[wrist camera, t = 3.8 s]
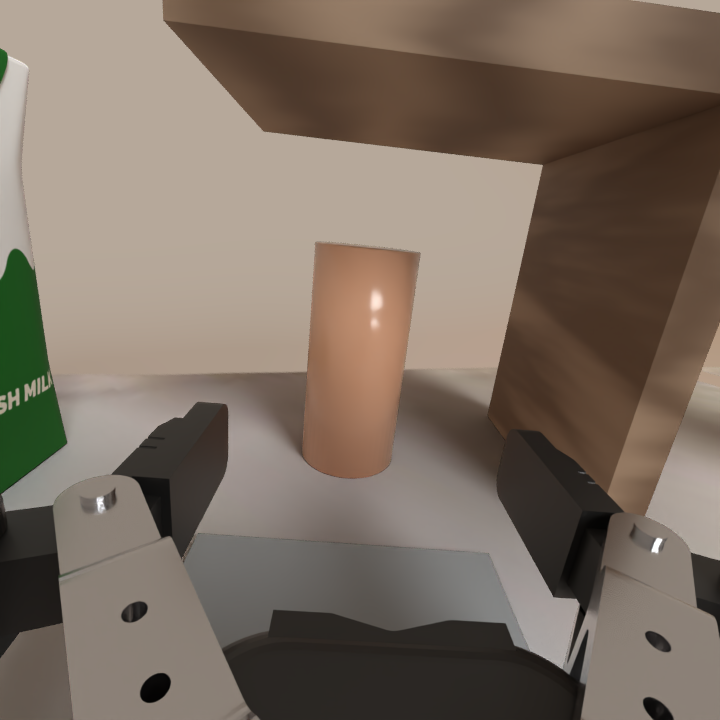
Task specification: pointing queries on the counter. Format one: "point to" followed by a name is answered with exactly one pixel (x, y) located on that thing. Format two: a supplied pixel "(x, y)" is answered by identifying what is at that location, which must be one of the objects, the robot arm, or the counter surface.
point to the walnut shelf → (556, 186)
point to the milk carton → (20, 305)
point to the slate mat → (341, 584)
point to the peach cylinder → (356, 356)
